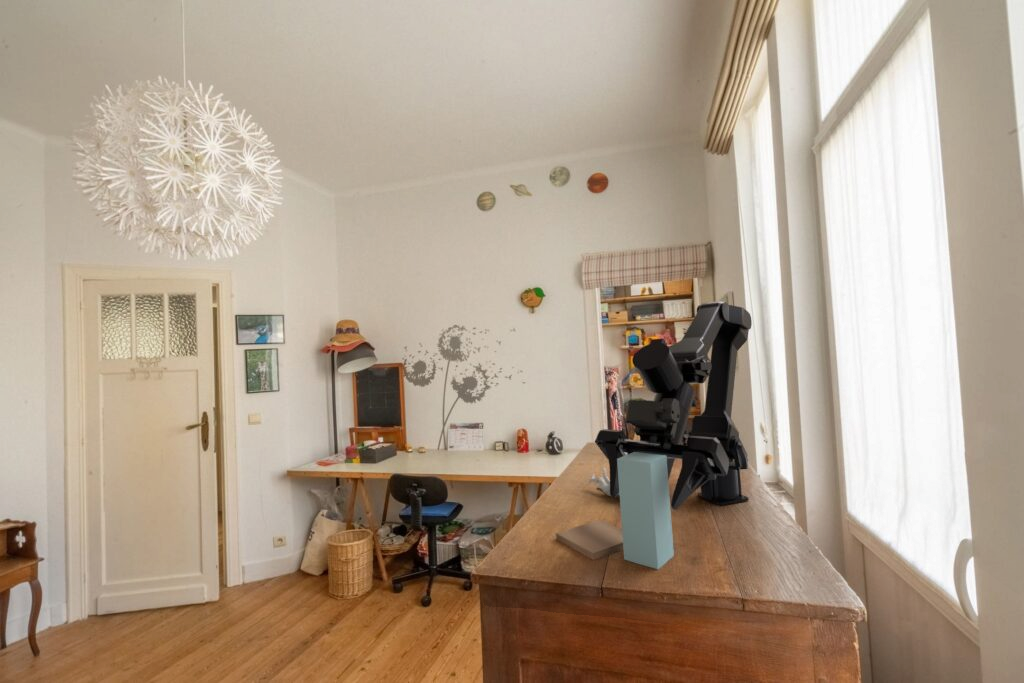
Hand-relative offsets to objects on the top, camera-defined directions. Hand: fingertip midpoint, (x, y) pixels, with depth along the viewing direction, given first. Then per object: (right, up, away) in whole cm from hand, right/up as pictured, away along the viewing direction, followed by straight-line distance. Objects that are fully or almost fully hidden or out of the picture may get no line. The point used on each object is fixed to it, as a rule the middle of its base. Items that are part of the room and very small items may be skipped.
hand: (641, 502), depth 62 cm
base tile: (-5, -9, +7) cm, 12 cm away
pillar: (+1, -8, 0) cm, 8 cm away
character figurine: (+10, -9, +30) cm, 33 cm away
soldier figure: (+2, -9, +28) cm, 30 cm away
